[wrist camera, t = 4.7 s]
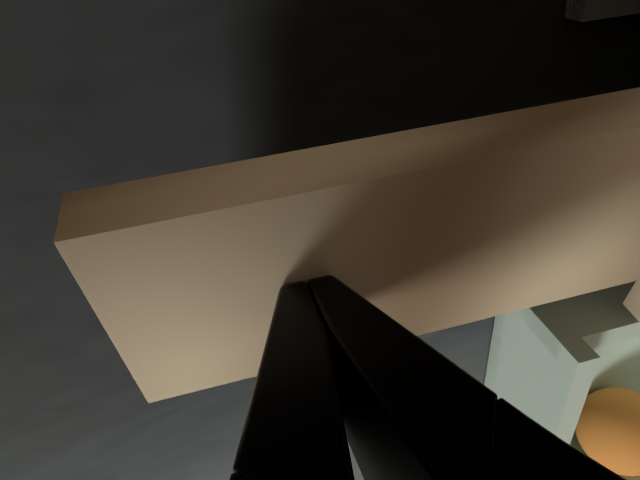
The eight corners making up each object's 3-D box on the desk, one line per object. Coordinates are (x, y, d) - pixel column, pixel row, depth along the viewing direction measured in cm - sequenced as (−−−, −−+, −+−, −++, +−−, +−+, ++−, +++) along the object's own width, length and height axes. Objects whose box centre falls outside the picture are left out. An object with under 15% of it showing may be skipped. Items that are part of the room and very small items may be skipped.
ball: (629, 437, 20) (620, 366, 19) (698, 480, 17) (690, 398, 16) (562, 457, 19) (552, 385, 19) (621, 505, 16) (611, 421, 16)
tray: (752, 217, 16) (874, 282, 13) (665, 392, 21) (740, 466, 18) (501, 276, 15) (578, 363, 12) (473, 448, 20) (523, 537, 17)
